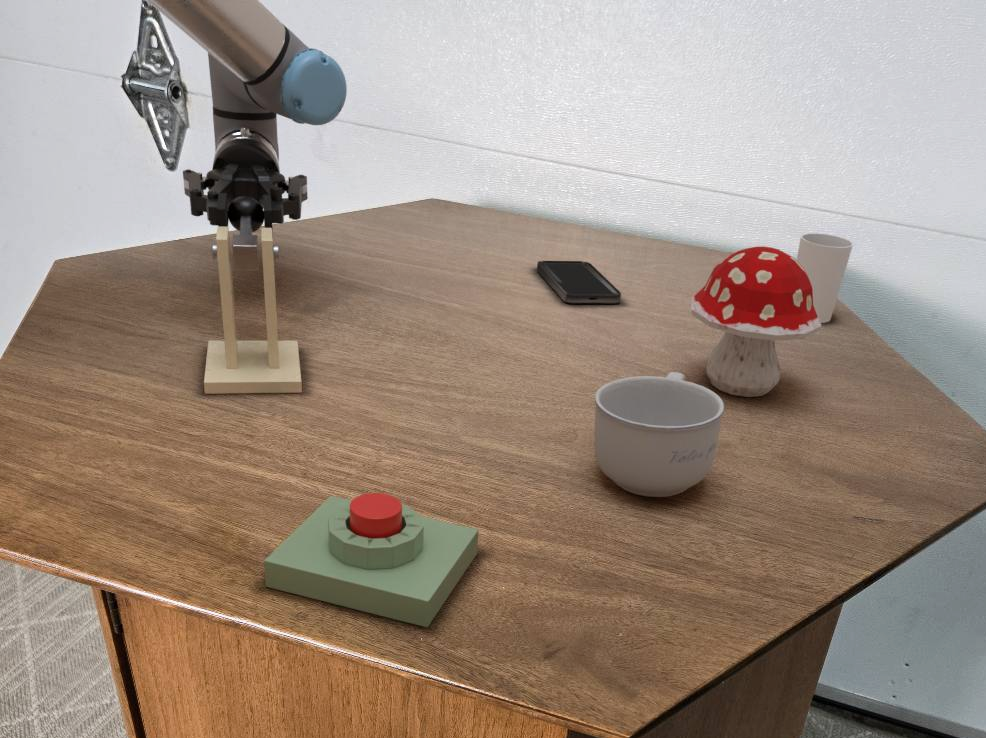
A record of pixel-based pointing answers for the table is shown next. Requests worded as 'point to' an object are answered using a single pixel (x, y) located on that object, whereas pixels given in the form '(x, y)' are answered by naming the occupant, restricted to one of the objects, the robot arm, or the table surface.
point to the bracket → (250, 361)
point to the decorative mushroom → (754, 317)
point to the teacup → (656, 433)
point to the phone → (578, 282)
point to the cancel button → (375, 515)
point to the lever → (245, 231)
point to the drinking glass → (824, 268)
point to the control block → (373, 563)
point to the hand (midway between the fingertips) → (245, 223)
